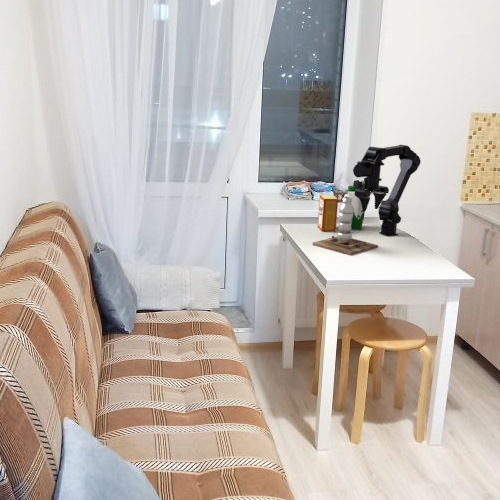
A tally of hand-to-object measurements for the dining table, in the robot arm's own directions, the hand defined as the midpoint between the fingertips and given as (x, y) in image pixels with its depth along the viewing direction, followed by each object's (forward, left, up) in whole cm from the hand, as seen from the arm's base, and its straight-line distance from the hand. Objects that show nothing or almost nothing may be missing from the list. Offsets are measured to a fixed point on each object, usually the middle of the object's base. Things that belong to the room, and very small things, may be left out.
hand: (370, 210), depth 296 cm
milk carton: (-6, -18, -13) cm, 23 cm away
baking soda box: (+8, -21, -13) cm, 26 cm away
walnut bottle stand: (+18, +7, -13) cm, 23 cm away
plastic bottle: (+18, +6, -12) cm, 23 cm away
